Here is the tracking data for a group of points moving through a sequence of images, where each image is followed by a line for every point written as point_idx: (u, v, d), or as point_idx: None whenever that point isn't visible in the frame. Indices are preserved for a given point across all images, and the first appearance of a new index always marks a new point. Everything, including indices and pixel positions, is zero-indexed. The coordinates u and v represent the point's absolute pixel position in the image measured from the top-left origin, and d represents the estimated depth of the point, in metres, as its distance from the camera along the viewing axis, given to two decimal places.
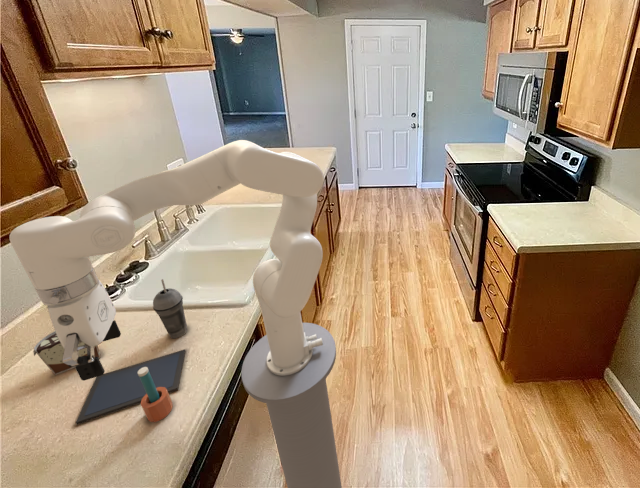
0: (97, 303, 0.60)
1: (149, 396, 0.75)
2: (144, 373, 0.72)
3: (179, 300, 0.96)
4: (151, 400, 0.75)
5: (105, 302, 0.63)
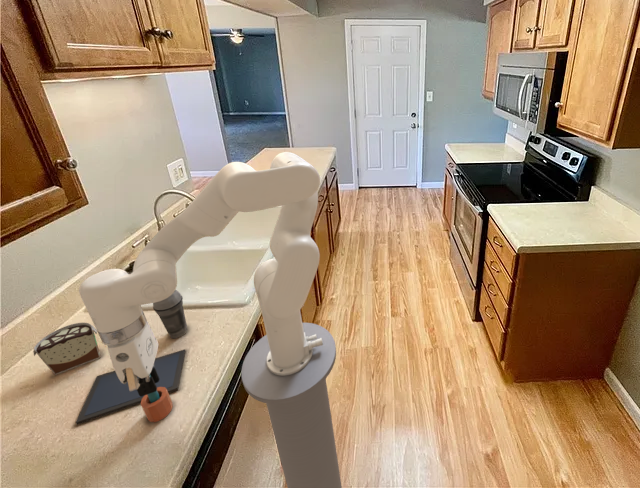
0: (145, 340, 0.70)
1: (149, 396, 0.75)
2: None
3: (179, 300, 0.96)
4: (151, 400, 0.75)
5: (150, 338, 0.73)
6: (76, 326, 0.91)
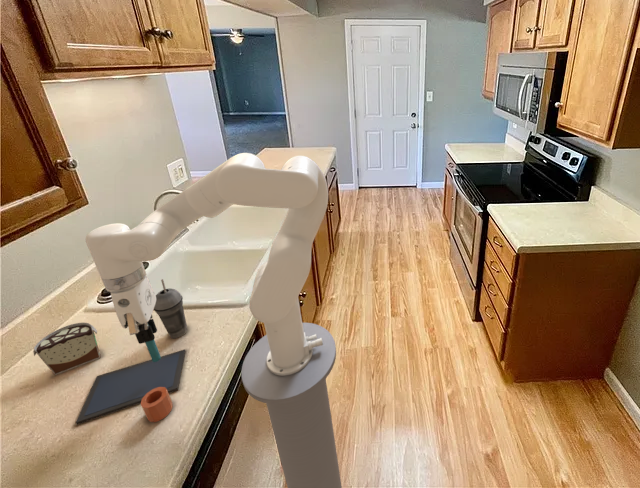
0: (145, 291, 0.77)
1: (147, 344, 0.82)
2: None
3: (179, 300, 0.96)
4: (149, 349, 0.82)
5: (149, 290, 0.80)
6: (76, 326, 0.91)
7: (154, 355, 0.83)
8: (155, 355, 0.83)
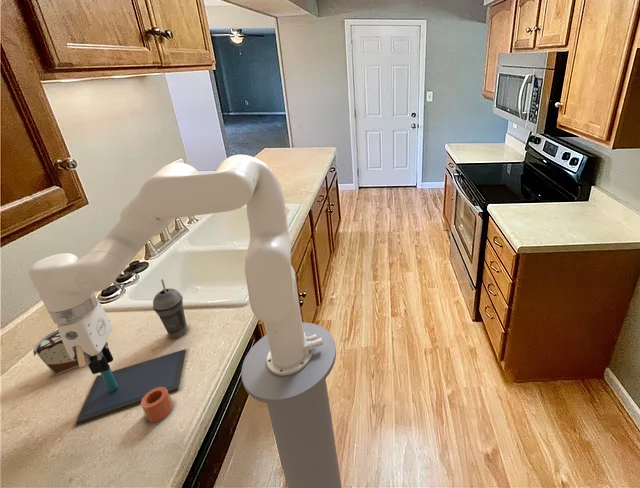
0: (96, 321, 0.75)
1: (102, 374, 0.79)
2: None
3: (179, 300, 0.96)
4: (104, 379, 0.80)
5: (103, 319, 0.78)
6: None
7: (110, 385, 0.81)
8: (111, 384, 0.81)
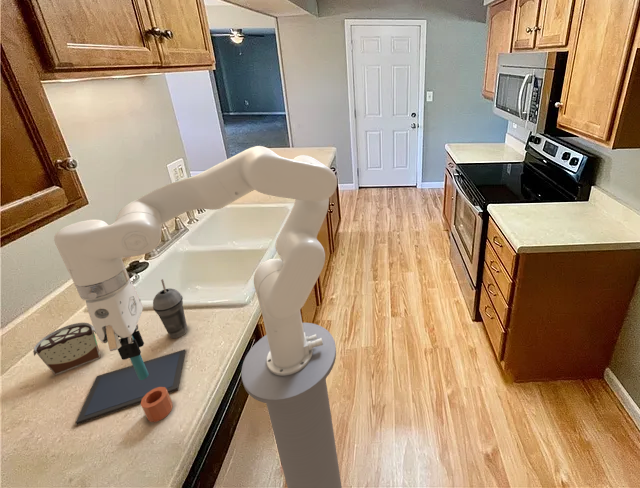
0: (128, 299, 0.66)
1: (132, 360, 0.70)
2: None
3: (179, 300, 0.96)
4: (134, 365, 0.71)
5: (134, 298, 0.69)
6: (76, 326, 0.91)
7: (140, 372, 0.72)
8: (142, 372, 0.72)
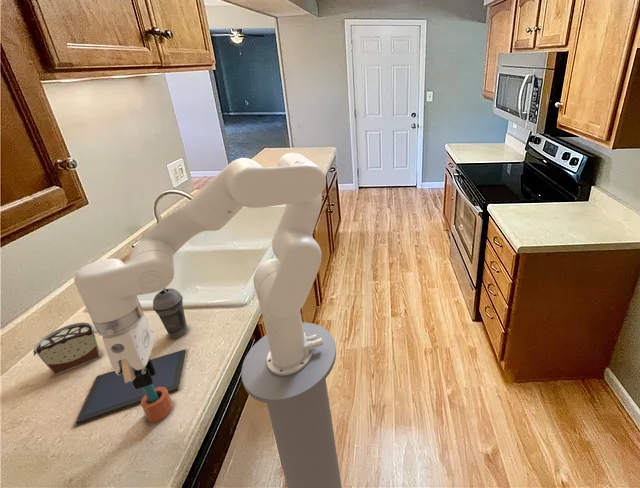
0: (141, 332, 0.69)
1: (144, 389, 0.74)
2: None
3: (179, 300, 0.96)
4: (146, 394, 0.74)
5: (147, 330, 0.72)
6: (76, 326, 0.91)
7: (152, 400, 0.75)
8: (153, 400, 0.75)
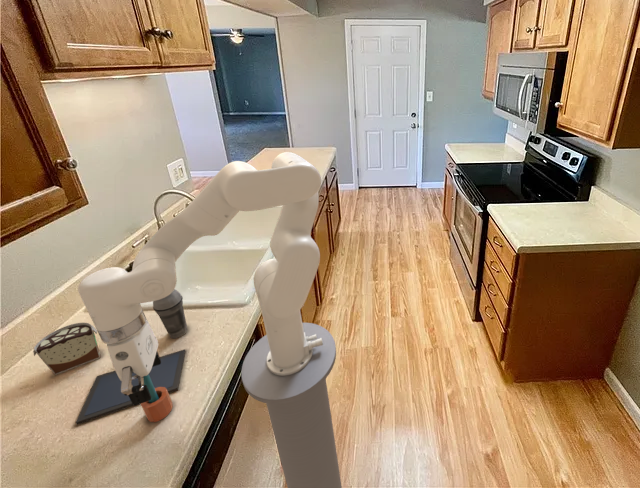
0: (145, 339, 0.70)
1: None
2: None
3: (179, 300, 0.96)
4: (150, 401, 0.75)
5: (150, 336, 0.73)
6: (76, 326, 0.91)
7: None
8: None
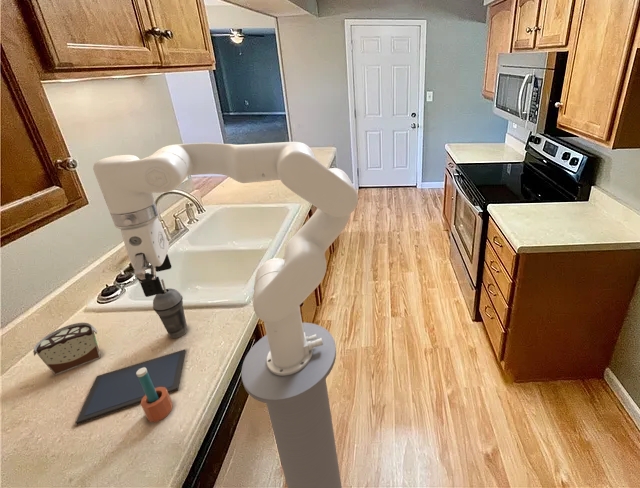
0: (157, 232, 0.71)
1: (148, 397, 0.74)
2: (143, 374, 0.72)
3: (179, 300, 0.96)
4: (150, 401, 0.75)
5: (162, 234, 0.74)
6: (76, 326, 0.91)
7: None
8: None
